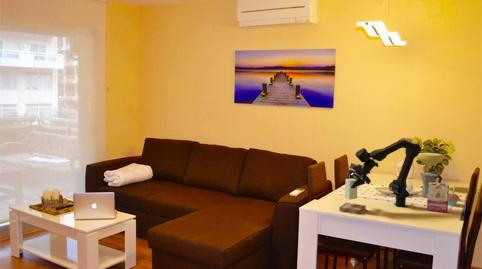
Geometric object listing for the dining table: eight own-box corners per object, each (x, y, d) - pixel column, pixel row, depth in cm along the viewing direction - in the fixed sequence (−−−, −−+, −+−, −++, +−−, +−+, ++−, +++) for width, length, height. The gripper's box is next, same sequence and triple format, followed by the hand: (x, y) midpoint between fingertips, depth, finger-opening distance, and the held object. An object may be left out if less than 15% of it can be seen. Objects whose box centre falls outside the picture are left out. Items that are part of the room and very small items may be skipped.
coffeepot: (415, 195, 296) (416, 168, 294) (423, 193, 302) (425, 167, 300) (436, 200, 284) (437, 172, 282) (444, 198, 289) (446, 171, 287)
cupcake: (462, 206, 270) (463, 187, 269) (449, 206, 269) (450, 187, 267) (453, 202, 278) (454, 183, 277) (440, 203, 277) (441, 184, 276)
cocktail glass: (447, 188, 317) (449, 154, 314) (432, 191, 306) (434, 156, 304) (424, 184, 331) (426, 150, 329) (409, 187, 321) (411, 152, 319)
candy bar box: (447, 210, 261) (448, 183, 259) (447, 212, 256) (449, 184, 254) (426, 208, 265) (427, 181, 263) (426, 210, 260) (428, 183, 258)
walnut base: (339, 211, 258) (339, 207, 257) (345, 206, 268) (345, 202, 268) (359, 214, 252) (360, 210, 251) (365, 209, 262) (365, 205, 261)
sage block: (345, 197, 263) (345, 178, 262) (352, 196, 264) (353, 178, 263) (349, 199, 258) (349, 180, 257) (356, 198, 259) (357, 180, 258)
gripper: (350, 156, 268) (333, 174, 267) (366, 161, 251) (348, 181, 249) (361, 168, 271) (344, 187, 270) (378, 174, 254) (360, 194, 252)
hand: (349, 187), depth 260 cm, fingers closed on sage block, 5 cm apart
